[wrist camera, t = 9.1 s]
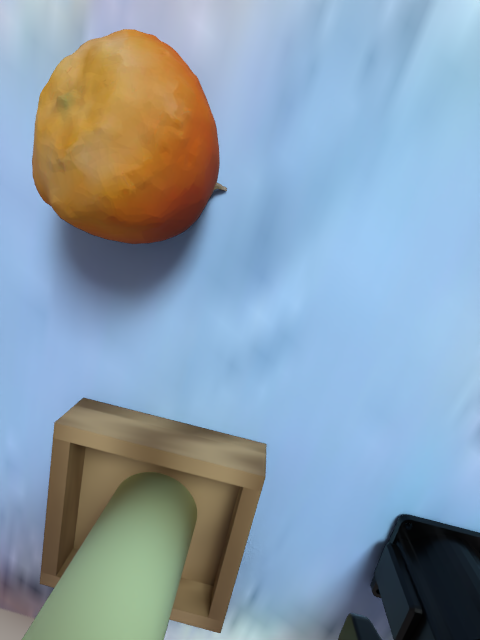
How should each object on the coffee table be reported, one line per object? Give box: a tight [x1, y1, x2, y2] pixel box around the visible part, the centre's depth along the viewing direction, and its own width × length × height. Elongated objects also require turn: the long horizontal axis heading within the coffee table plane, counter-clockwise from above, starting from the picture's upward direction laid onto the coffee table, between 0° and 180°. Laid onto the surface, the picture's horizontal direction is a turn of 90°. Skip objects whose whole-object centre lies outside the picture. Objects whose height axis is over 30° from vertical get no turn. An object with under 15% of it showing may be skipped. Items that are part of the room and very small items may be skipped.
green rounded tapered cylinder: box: [22, 472, 197, 640], centre depth 16 cm, size 6×6×13 cm
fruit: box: [32, 29, 227, 244], centre depth 15 cm, size 8×8×8 cm
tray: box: [40, 398, 266, 633], centre depth 22 cm, size 12×12×3 cm
